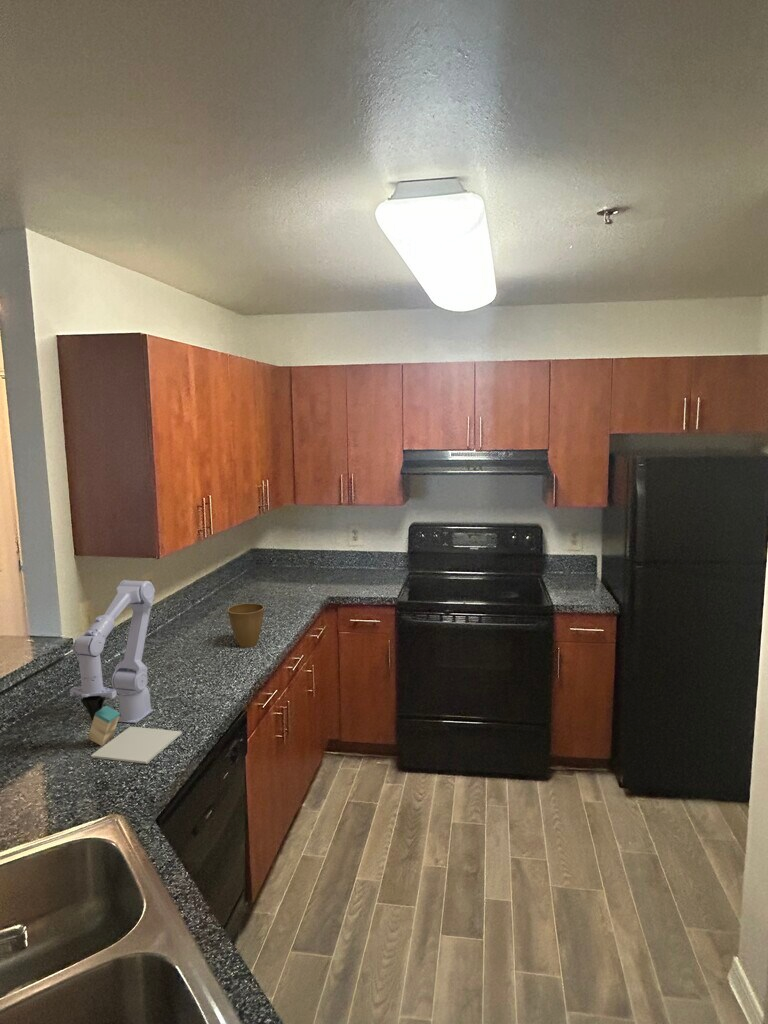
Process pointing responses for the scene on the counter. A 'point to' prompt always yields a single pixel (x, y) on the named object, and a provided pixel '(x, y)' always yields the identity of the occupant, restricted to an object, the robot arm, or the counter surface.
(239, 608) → the plant pot
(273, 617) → the counter surface
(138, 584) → the robot arm
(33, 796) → the counter surface
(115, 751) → the board
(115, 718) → the wooden block
